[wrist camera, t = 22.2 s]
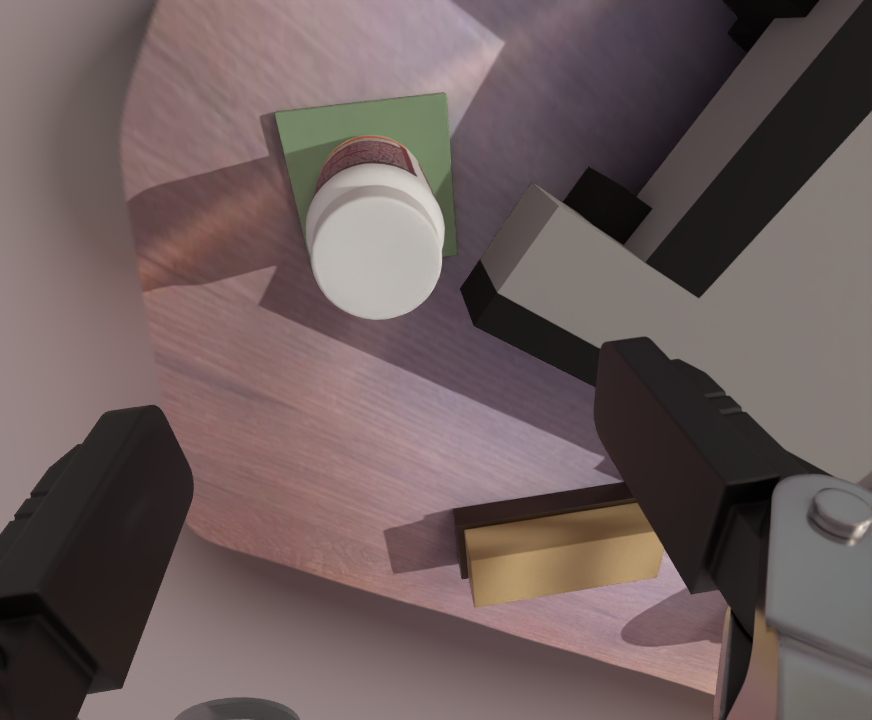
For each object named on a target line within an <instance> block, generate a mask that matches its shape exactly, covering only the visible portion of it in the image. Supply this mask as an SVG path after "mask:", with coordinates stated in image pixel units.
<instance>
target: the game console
mask: <svg viewBox="0 0 872 720" xmlns="http://www.w3.org/2000/svg"><path fill="white" fill-rule="evenodd" d="M723 1H724V3H725V4H726V5H727V6H728V7H729V8H730V9H731V10H732V11H733V12H734V13H735V14H736V15H737V16H738V17H739V18H738V19H737V21H736V22H735V23H734V25H733V26H732V27H731V29H730V30H729V31H728V33H727V34H728V35H729V36H730V37H731V38H732V39H733V40H734V41H735V42H736V43H737V44H738V45H739V46H740V47H741V48H742V49H743V50H744V51H746V52H747V53H748V54H747V55H746V56H745V57H744V59H743V60H742V61H741V63H740V64H739V65H738V66H737V68H736V69H735V70H734V72H733V73H732V74H731V75H730V77H729V78H728V79H727V81H726V82H725V83H724V84H723V86H722V87H721V88H720V90H719V91H718V92H717V93H716V95H715V96H714V97H713V99H712V100H711V101H710V102H709V104H708V105H707V106H706V108H705V109H704V110H703V111H702V113H701V114H700V115H699V117H698V118H697V119H696V120H695V122H694V123H693V124H692V126H691V127H690V128H689V130H688V131H687V132H686V133H685V135H684V136H683V137H682V139H681V140H680V141H679V142H678V144H677V145H676V146H675V148H674V149H673V150H672V151H671V153H670V154H669V155H668V157H667V158H666V159H665V160H664V162H663V163H662V164H661V166H660V167H659V168H658V169H657V171H656V172H655V173H654V175H653V176H652V177H651V178H650V180H649V181H648V182H647V184H646V185H645V186H644V187H643V189H642V190H641V191H640V193H639V194H638V195H637V196H635V195H633V194H632V193H630V192H629V191H628V190H626V189H625V188H624V187H622V186H621V185H619V184H617V183H615V182H614V181H612V180H610V179H609V178H607V177H605V176H604V175H602V174H600V173H599V172H597V171H595V170H594V169H592V168H590V167H589V166H588V168H587V169H586V171H585V172H584V173H583V175H582V176H581V178H580V179H579V180H578V182H577V183H576V185H575V186H574V187H573V189H572V190H571V192H570V193H569V194H568V196H567V197H566V199H565V200H564V201H563V202H561V201H560V200H558V199H557V198H555V197H554V196H552V195H551V194H549V193H548V192H546V191H545V190H543V189H542V188H540V187H539V186H537V185H536V184H534V183H533V182H531V184H530V185H529V187H528V188H527V190H526V191H525V193H524V194H523V196H522V197H521V199H520V200H519V202H518V203H517V205H516V206H515V208H514V209H513V211H512V212H511V214H510V215H509V217H508V218H507V220H506V221H505V223H504V224H503V226H502V227H501V228H500V230H499V231H498V233H497V234H496V236H495V237H494V239H493V240H492V242H491V243H490V245H489V246H488V248H487V249H486V251H485V252H484V254H483V255H482V257H481V258H480V260H479V261H478V263H477V264H476V266H475V267H474V269H473V270H472V272H471V273H470V275H469V276H468V278H467V279H466V281H465V282H464V284H463V285H462V287H461V288H460V291H461V293H462V296H463V299H464V301H465V304H466V307H467V309H468V312H469V315H470V317H471V320H472V323H473V325H474V326H475V327H477V328H479V329H481V330H483V331H485V332H487V333H489V334H491V335H493V336H495V337H497V338H499V339H501V340H503V341H505V342H507V343H509V344H511V345H513V346H515V347H517V348H518V349H520V350H522V351H524V352H526V353H528V354H530V355H532V356H534V357H536V358H538V359H540V360H542V361H544V362H546V363H548V364H550V365H552V366H554V367H556V368H558V369H560V370H562V371H564V372H566V373H568V374H570V375H572V376H574V377H576V378H578V379H580V380H582V381H584V382H586V383H588V384H590V385H592V386H594V387H596V381H597V371H598V361H599V352H600V348H601V346H602V344H603V343H604V342H607V341H614V340H621V339H628V338H635V337H643V336H646V337H648V338H650V339H651V340H652V341H653V342H654V343H655V344H656V345H657V346H658V347H659V348H660V349H661V350H662V351H663V352H664V353H665V354H666V356H667V357H668V358H669V359H670V360H673V359H681V360H682V361H684V362H686V363H688V364H690V365H692V366H694V367H696V368H698V369H700V370H702V371H704V372H705V373H707V374H708V375H709V376H710V377H711V378H712V379H713V380H714V381H715V382H716V383H717V384H718V385H719V386H720V387H721V388H722V389H723V390H724V391H725V392H726V396H731V397H732V398H733V399H734V400H735V401H736V402H737V403H738V404H739V405H740V406H741V407H742V411H743V412H747V413H748V414H749V415H750V416H751V417H752V418H753V419H754V420H755V421H756V422H757V423H758V424H759V425H760V426H761V427H762V428H763V429H764V430H765V431H766V432H767V433H768V434H769V435H771V436H772V437H773V438H774V439H775V440H776V441H777V442H778V443H779V444H780V445H781V446H782V447H783V448H784V449H785V450H786V451H787V452H788V453H789V454H790V455H791V456H792V457H793V458H794V459H795V460H796V461H797V462H798V463H799V464H800V465H801V466H802V467H803V468H804V469H805V470H806V471H807V472H808V473H810V474H821V475H828V476H833V477H837V478H840V479H844V480H847V481H849V482H852V483H854V484H857V485H859V486H861V487H863V488H865V489H867V490H869V491H871V492H872V0H723Z"/></svg>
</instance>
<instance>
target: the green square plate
mask: <svg viewBox="0 0 872 720" xmlns="http://www.w3.org/2000/svg"><path fill="white" fill-rule="evenodd" d="M274 115H275V119H276V123H277V128H278V132H279V136H280V140H281V144H282V148H283V152H284V157H285V161H286V165H287V169H288V173H289V177H290V181H291V186H292V190H293V194H294V198H295V202H296V206H297V211H298V215H299V219H300V223H301V227H302V231H303V235H304V240H305V244H306V248H307V252H308V256H309V260H310V264H311V256H310V253H309V250H308V246H307V240H306V218H307V212H308V208H309V205H310V204H311V201H312V198H313V194H314V191H315V187H316V185H317V181H318V177H319V174H320V171H321V168H322V166H323V164H324V162H325V160H326V159H327V157H328V156H329V155H330V153H331V152H332V151H333V150H334V149H335V148H336V147H338V146H339V145H340V144H342V143H343V142H345V141H347V140H349V139H351V138H354V137H358V136H362V135H378V136H384V137H387V138H390V139H392V140H395V141H396V142H398V143H400V144H401V145H403V146H404V147H406V148H407V149H408V150H409V151H410V152H411V153H412V154H413V155H414V157H415V158H416V159H417V161H418V162H419V164H420V166H421V168H422V170H423V171H424V174H425V176H426V178H427V180H428V183H429V185H430V187H431V189H432V191H433V194H434V196H435V198H436V200H437V201H438V204H439V206H440V209H441V211H442V214H443V219H444V226H445V234H444V244H443V248H442V257H447V256H455V255H457V240H456V226H455V211H454V197H453V183H452V168H451V154H450V140H449V125H448V111H447V97H446V93H444V92H443V93H434V94H425V95H417V96H408V97H399V98H390V99H382V100H373V101H364V102H355V103H347V104H338V105H329V106H320V107H312V108H303V109H294V110H285V111H277V112H275V114H274ZM311 269H312V266H311ZM312 273H313V270H312Z"/></svg>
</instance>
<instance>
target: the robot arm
mask: <svg viewBox="0 0 872 720" xmlns="http://www.w3.org/2000/svg"><path fill="white" fill-rule="evenodd" d="M594 420H595V426H596V430H597V433H598V436H599V438H600V440H601V442H602V444H603V445H604V447H605V449H606V450H607V452H608V454H609V456H610V457H611V459H612V461H613V462H614V464H615V466H616V467H617V469H618V471H619V473H620V474H621V476H622V478H623V479H624V481H625V483H626V484H627V486H628V488H629V490H630V491H631V493H632V495H633V496H634V498H635V500H636V501H637V503H638V505H639V506H640V508H641V510H642V512H643V513H644V515H645V517H646V518H647V520H648V522H649V523H650V525H651V527H652V529H653V530H654V532H655V534H656V535H657V537H658V539H659V540H660V542H661V544H662V545H663V547H664V549H665V551H666V552H667V554H668V556H669V557H670V559H671V561H672V562H673V564H674V566H675V568H676V569H677V571H678V573H679V574H680V576H681V578H682V579H683V581H684V583H685V584H686V586H687V588H688V590H689V591H690V593H691V594H696V593H702V592H708V591H714V590H719V591H720V592H721V594H722V595H723V597H724V598H725V600H726V602H727V603H728V605H729V606H728V608H727V611H726V615H725V619H724V628H723V636H722V644H721V652H720V661H719V669H718V677H717V685H716V694H715V702H714V710H713V718H712V720H872V492H871V491H869V490H867V489H865V488H863V487H861V486H859V485H857V484H854V483H852V482H849V481H847V480H844V479H840V478H837V477H833V476H828V475H821V474H810V473H808V472H807V471H806V470H805V469H804V468H803V467H802V466H801V465H800V464H799V463H798V462H797V461H796V460H795V459H794V458H793V457H792V456H791V455H790V454H789V453H788V452H787V451H786V450H785V449H784V448H783V447H782V446H781V445H780V444H779V443H778V442H777V441H776V440H775V439H774V438H773V437H772V436H771V435H769V434H768V433H767V432H766V431H765V430H764V429H763V428H762V427H761V426H760V425H759V424H758V423H757V422H756V421H755V420H754V419H753V418H752V417H751V416H750V415H749V414H748V413H747V412H743V411H742V407H741V406H740V405H739V404H738V403H737V402H736V401H735V400H734V399H733V398H732V397H731V396H726V392H725V391H724V390H723V389H722V388H721V387H720V386H719V385H718V384H717V383H716V382H715V381H714V380H713V379H712V378H711V377H710V376H709V375H708V374H707V373H705V372H704V371H702V370H700V369H698V368H696V367H694V366H692V365H690V364H688V363H686V362H684V361H682V360H681V359H673V360H670V359H669V358H668V357H667V356H666V354H665V353H664V352H663V351H662V350H661V349H660V348H659V347H658V346H657V345H656V344H655V343H654V342H653V341H652V340H651V339H650V338H648V337H646V336H643V337H635V338H628V339H621V340H614V341H607V342H604V343H603V344H602V346H601V348H600V352H599V361H598V371H597V381H596V390H595V400H594ZM193 491H194V483H193V475H192V471H191V468H190V466H189V464H188V462H187V459H186V457H185V455H184V453H183V451H182V449H181V447H180V445H179V443H178V441H177V439H176V437H175V435H174V433H173V431H172V429H171V427H170V425H169V423H168V421H167V419H166V417H165V415H164V413H163V411H162V410H161V409H160V408H159V407H157V406H155V405H148V406H141V407H133V408H127V409H119V410H112V411H108V412H105V413H104V414H103V415H102V416H101V417H100V419H99V420H98V422H97V423H96V425H95V426H94V427H93V429H92V430H91V432H90V433H89V434H88V436H87V437H86V439H85V440H84V442H83V443H82V444H78V445H76V446H75V447H74V448H73V449H71V450H70V451H69V452H68V453H67V454H65V455H64V456H63V457H62V458H61V459H59V460H58V461H57V462H56V463H55V464H53V465H52V466H51V467H50V468H49V469H48V470H47V471H46V473H45V474H44V476H43V477H42V478H41V480H40V481H39V482H38V484H37V485H36V486H35V488H34V489H33V491H32V492H31V493H30V494H31V498H30V499H26V500H25V501H24V503H23V504H22V506H21V507H20V508H19V510H18V511H17V512H16V514H15V515H14V516H15V520H14V521H10V522H9V523H8V525H7V526H6V528H5V529H4V530H3V532H2V533H1V534H0V720H80V719H79V718H78V717H77V716H78V714H79V711H80V709H81V706H82V704H83V701H84V699H85V697H86V695H87V694H92V693H98V692H104V691H110V690H116V689H121V688H122V687H123V684H124V681H125V679H126V676H127V673H128V671H129V668H130V666H131V663H132V660H133V657H134V655H135V652H136V650H137V647H138V644H139V642H140V639H141V636H142V633H143V631H144V628H145V625H146V623H147V620H148V617H149V615H150V612H151V609H152V607H153V604H154V601H155V599H156V596H157V593H158V591H159V588H160V585H161V583H162V580H163V577H164V574H165V572H166V569H167V566H168V564H169V561H170V558H171V556H172V553H173V550H174V547H175V545H176V542H177V539H178V537H179V534H180V531H181V529H182V526H183V523H184V521H185V518H186V515H187V513H188V510H189V507H190V505H191V502H192V498H193Z"/></svg>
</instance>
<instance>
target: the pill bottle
mask: <svg viewBox="0 0 872 720" xmlns="http://www.w3.org/2000/svg"><path fill="white" fill-rule="evenodd" d="M444 234H445V226H444V219H443V214H442V211H441V209H440V206H439V204H438V201H437V200H436V198H435V196H434V194H433V191H432V189H431V187H430V185H429V183H428V180H427V178H426V176H425V174H424V171H423V170H422V168H421V166H420V164H419V162H418V161H417V159H416V158H415V157H414V155H413V154H412V153H411V152H410V151H409V150H408V149H407V148H406V147H404V146H403V145H401V144H400V143H398V142H396V141H395V140H392V139H390V138H387V137H384V136H378V135H362V136H358V137H354V138H351V139H349V140H347V141H345V142H343V143H342V144H340V145H339V146H338V147H336V148H335V149H334V150H333V151H332V152H331V153H330V155H329V156H328V157H327V159H326V160H325V162H324V164H323V166H322V168H321V171H320V174H319V177H318V181H317V185H316V187H315V191H314V194H313V198H312V201H311V204H310V205H309V208H308V212H307V218H306V240H307V246H308V250H309V253H310V256H311V266H312V270H313V274H314V277H315V280H316V282H317V284H318V286H319V288H320V289H321V291H322V292H323V293H324V295H325V296H326V297H327V298H328V299H329V300H330V301H331V302H332V303H333V304H334V305H335V306H337V307H338V308H340V309H341V310H343V311H345V312H347V313H349V314H351V315H353V316H356V317H360V318H365V319H370V320H383V319H391V318H394V317H398V316H401V315H404V314H406V313H408V312H410V311H412V310H413V309H415V308H416V307H418V306H419V305H420V304H421V303H423V302H424V301H425V300H426V299H427V297H428V296H429V295H430V294H431V292H432V291H433V289H434V287H435V285H436V283H437V281H438V279H439V276H440V272H441V266H442V248H443V244H444Z"/></svg>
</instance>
